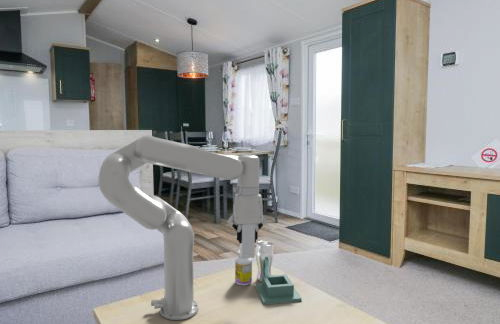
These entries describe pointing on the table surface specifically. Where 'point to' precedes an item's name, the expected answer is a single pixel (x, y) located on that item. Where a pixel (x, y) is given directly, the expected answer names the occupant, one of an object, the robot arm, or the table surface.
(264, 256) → the beer glass
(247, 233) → the silver square block
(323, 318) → the table surface
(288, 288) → the well
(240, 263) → the supplement bottle
